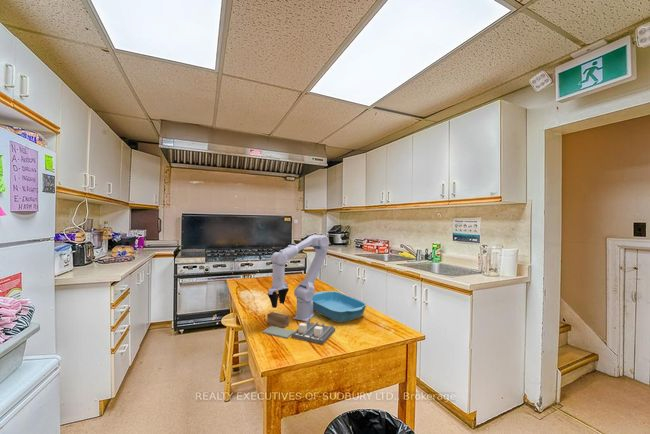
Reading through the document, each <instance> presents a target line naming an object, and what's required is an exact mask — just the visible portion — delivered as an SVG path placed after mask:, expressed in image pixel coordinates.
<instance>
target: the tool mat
mask: <svg viewBox="0 0 650 434" xmlns="http://www.w3.org/2000/svg"><path fill="white" fill-rule="evenodd" d="M294 331H295V330H292V329H286V328H281V327H277V326H273V325H269V327H267V328H266V329H264V330H262V332H261V333H262V334H266V335H271V336H275V337H278V338H282V339H289V338H291V334H292V333H293V332H294Z"/></svg>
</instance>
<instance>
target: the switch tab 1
mask: <svg viewBox="0 0 650 434" xmlns="http://www.w3.org/2000/svg"><path fill="white" fill-rule="evenodd" d="M305 323H306V322H300V323H299V324H298V327H297V329H298V333H304V332H306V331H307V324H305Z"/></svg>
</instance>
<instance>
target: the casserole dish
mask: <svg viewBox="0 0 650 434" xmlns="http://www.w3.org/2000/svg"><path fill="white" fill-rule="evenodd" d="M312 301H313V311H315V312H317V313H318V314H321V315H323V316H324V317H326V318H328V319H330V320H332V321H334V322H337V323H345V322H349V321H354V320H356V319H359V318H360V317H362V315H363V314H364V312H365V309H366V308H367V304H366V302H365V301H362V300H361V299H357V298H356V297H355V298H354V297H352V296H350V295H348V294H345V293H344V292H343V293H342V292H340V291H335V290H334V291H333V290H331V291H329V290H328V291H318V292H314V296H313V299H312Z"/></svg>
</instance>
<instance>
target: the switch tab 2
mask: <svg viewBox="0 0 650 434" xmlns="http://www.w3.org/2000/svg"><path fill="white" fill-rule="evenodd" d="M322 334H323V327H319V326H316V327H315V328H314V336H316V337H320V336H321V335H322Z"/></svg>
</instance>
